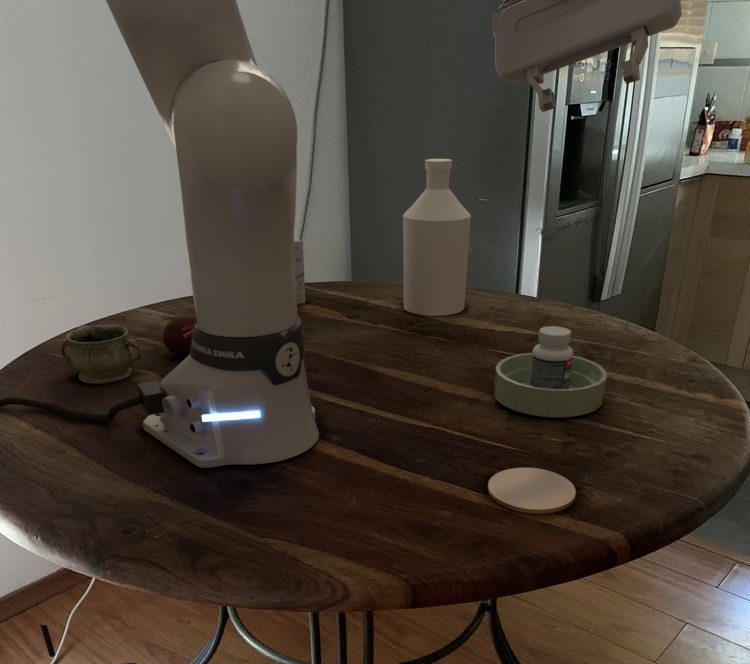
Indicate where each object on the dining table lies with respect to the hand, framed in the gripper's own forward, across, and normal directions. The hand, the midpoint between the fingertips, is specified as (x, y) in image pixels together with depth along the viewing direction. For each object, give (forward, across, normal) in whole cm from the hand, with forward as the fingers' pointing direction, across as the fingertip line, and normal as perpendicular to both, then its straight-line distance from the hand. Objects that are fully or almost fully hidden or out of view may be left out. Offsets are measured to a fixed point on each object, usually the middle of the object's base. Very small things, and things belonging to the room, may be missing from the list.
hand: (588, 94), depth 83 cm
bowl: (+33, -10, +10) cm, 36 cm away
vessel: (+22, -69, -13) cm, 74 cm away
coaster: (+44, -6, -13) cm, 46 cm away
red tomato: (+20, -63, -1) cm, 66 cm away
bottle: (+11, -40, +39) cm, 57 cm away
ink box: (+7, -66, +28) cm, 72 cm away
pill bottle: (+32, -10, +10) cm, 35 cm away
